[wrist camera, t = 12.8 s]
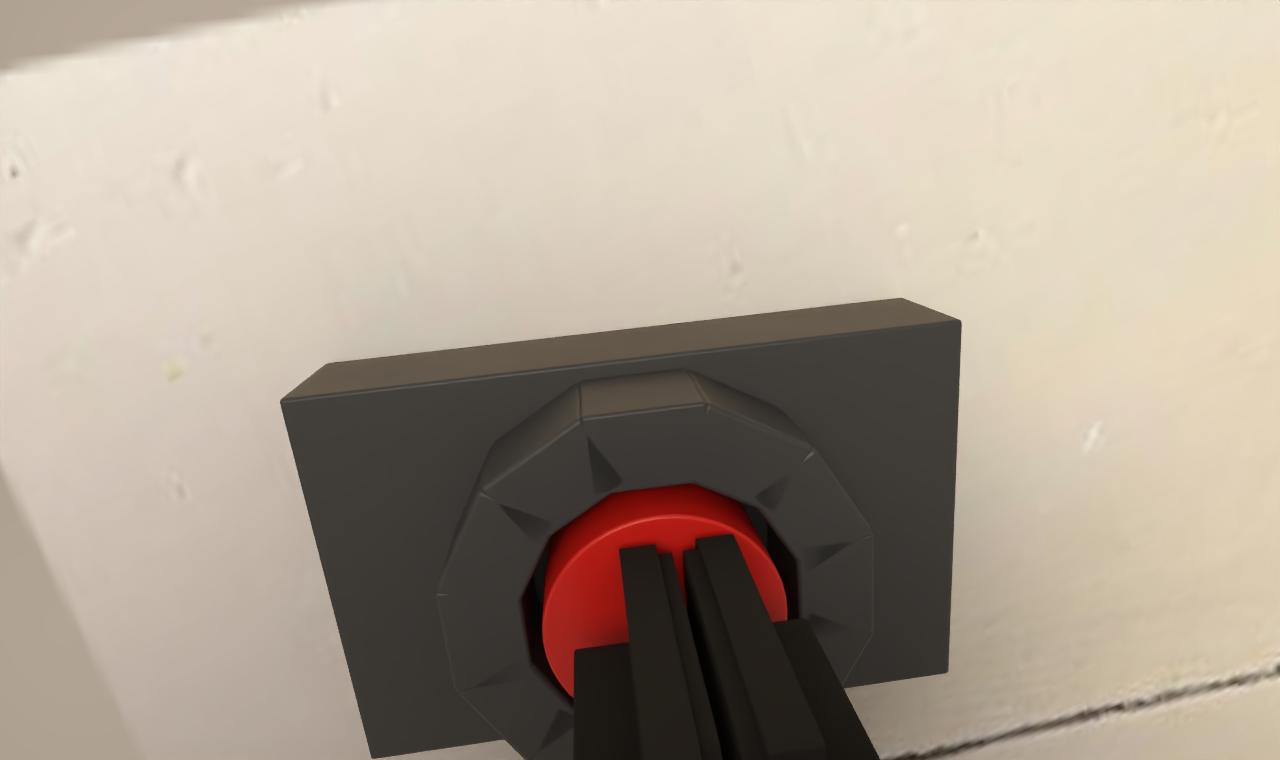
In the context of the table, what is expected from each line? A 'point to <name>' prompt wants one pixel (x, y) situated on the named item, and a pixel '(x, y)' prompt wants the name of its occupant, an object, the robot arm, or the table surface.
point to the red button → (591, 571)
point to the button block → (618, 462)
